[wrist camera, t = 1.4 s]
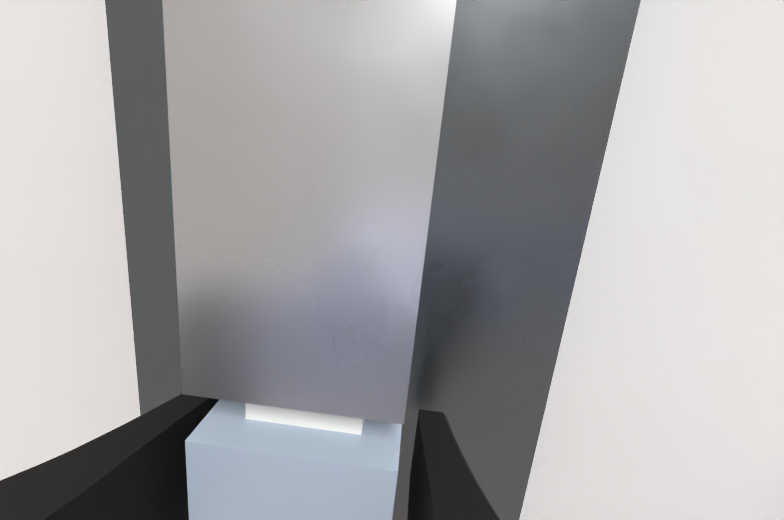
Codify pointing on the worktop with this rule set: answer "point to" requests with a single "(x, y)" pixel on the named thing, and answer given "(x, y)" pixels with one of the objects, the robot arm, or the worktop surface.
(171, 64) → the sleeve base
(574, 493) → the worktop surface
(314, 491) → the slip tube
